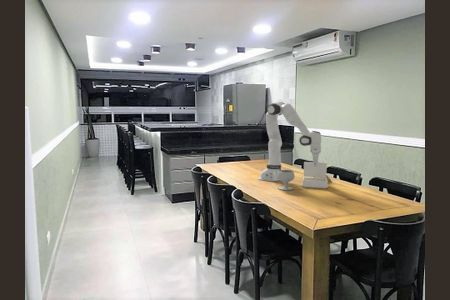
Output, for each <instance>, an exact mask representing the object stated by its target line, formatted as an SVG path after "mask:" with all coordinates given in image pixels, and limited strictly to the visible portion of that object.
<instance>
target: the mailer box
mask: <svg viewBox="0 0 450 300" xmlns="http://www.w3.org/2000/svg"><path fill="white" fill-rule="evenodd" d="M328 183H329V181H327V178H313V177H304V176H303V177H302V188H309V189H310V188H311V189H326V190H327V189H328Z"/></svg>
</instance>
